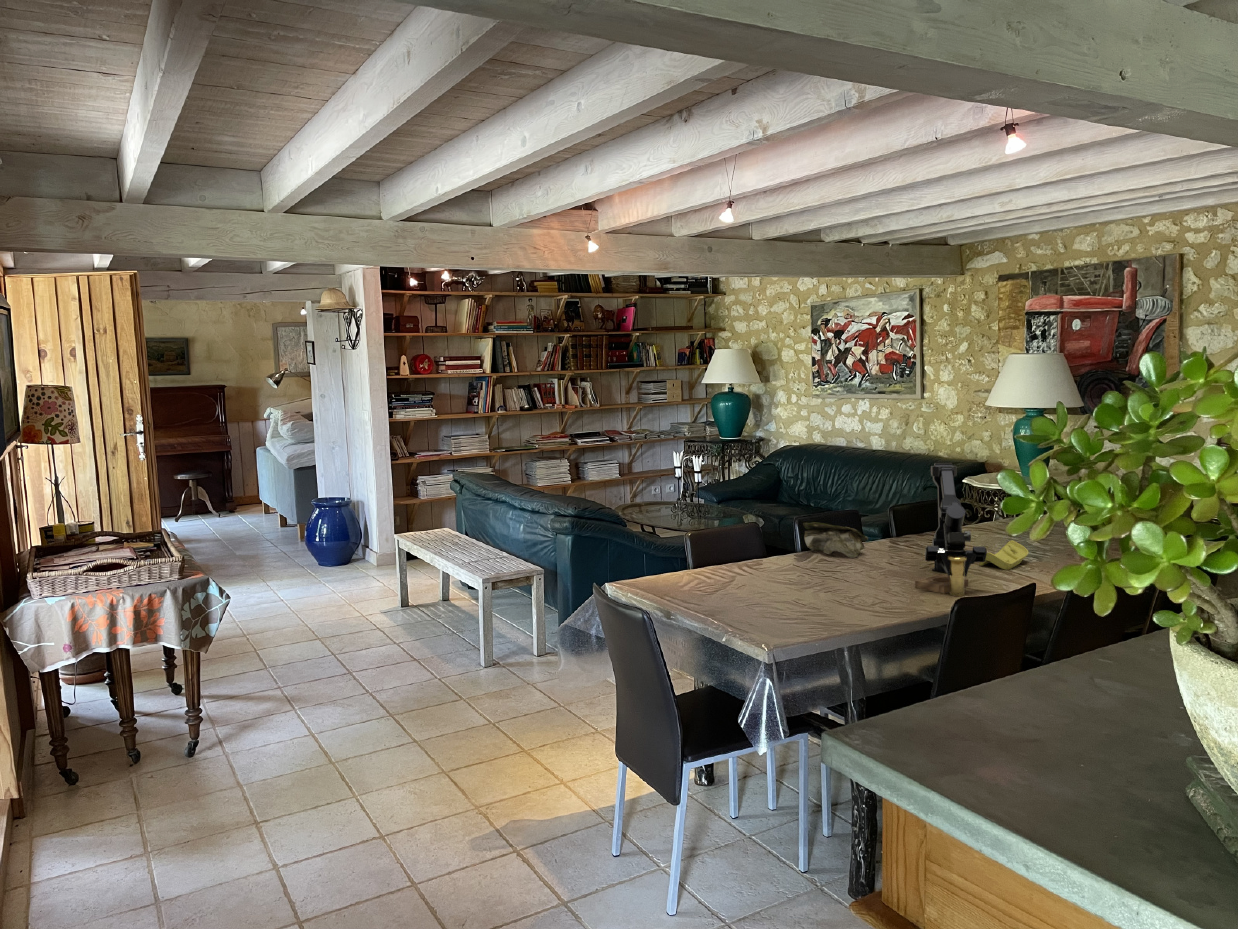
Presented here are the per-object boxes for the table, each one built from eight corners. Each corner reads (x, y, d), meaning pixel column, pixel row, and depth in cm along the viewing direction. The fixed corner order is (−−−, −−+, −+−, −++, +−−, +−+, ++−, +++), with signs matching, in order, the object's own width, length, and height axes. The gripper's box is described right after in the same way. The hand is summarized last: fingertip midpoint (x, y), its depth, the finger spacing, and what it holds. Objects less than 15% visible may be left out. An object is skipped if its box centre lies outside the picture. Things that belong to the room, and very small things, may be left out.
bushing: (943, 594, 293) (944, 557, 292) (954, 591, 296) (954, 554, 295) (959, 597, 288) (960, 559, 287) (970, 594, 292) (970, 556, 290)
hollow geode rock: (803, 560, 372) (786, 538, 364) (816, 536, 377) (800, 513, 369) (861, 568, 350) (844, 545, 343) (874, 542, 356) (857, 519, 348)
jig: (915, 587, 303) (915, 580, 302) (939, 580, 311) (939, 574, 311) (943, 593, 294) (943, 586, 294) (968, 586, 302) (968, 579, 302)
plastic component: (1009, 565, 321) (985, 550, 327) (1001, 581, 325) (976, 566, 330) (1032, 551, 334) (1008, 537, 340) (1024, 567, 338) (1000, 553, 344)
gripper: (925, 521, 296) (929, 561, 286) (986, 522, 291) (991, 563, 282) (923, 540, 304) (926, 580, 295) (982, 541, 300) (987, 581, 290)
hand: (957, 575), depth 290 cm, fingers closed on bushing, 5 cm apart
